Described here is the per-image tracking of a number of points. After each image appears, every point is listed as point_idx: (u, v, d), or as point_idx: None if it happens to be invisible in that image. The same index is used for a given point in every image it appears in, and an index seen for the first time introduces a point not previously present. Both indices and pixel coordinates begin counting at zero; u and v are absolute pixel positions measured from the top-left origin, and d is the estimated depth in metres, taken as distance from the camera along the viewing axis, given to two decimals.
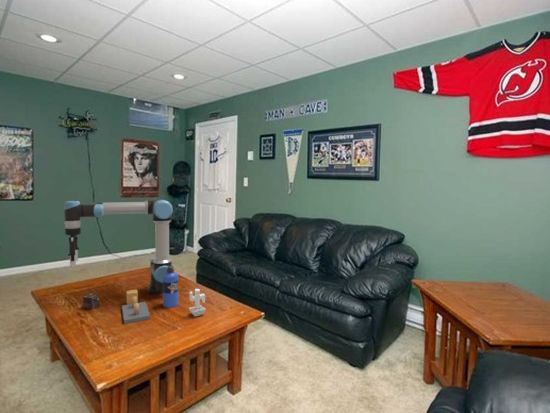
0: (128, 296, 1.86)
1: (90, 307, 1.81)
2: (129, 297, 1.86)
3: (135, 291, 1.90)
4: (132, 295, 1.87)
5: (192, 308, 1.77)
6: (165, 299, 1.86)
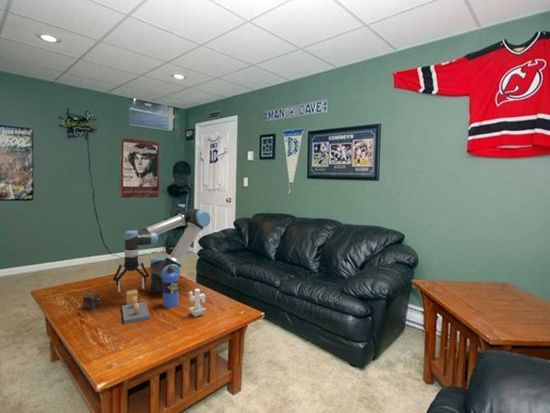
0: (128, 296, 1.86)
1: (90, 307, 1.81)
2: (129, 297, 1.86)
3: (135, 291, 1.90)
4: (132, 295, 1.87)
5: (192, 308, 1.77)
6: (165, 299, 1.86)
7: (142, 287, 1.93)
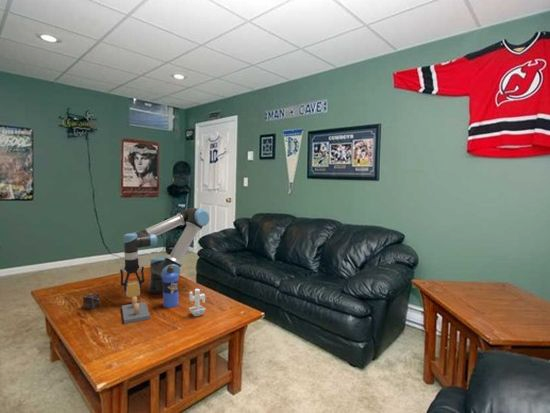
0: (129, 287, 1.86)
1: (90, 307, 1.81)
2: (130, 288, 1.86)
3: (136, 282, 1.90)
4: (133, 286, 1.87)
5: (192, 308, 1.77)
6: (165, 299, 1.86)
7: None
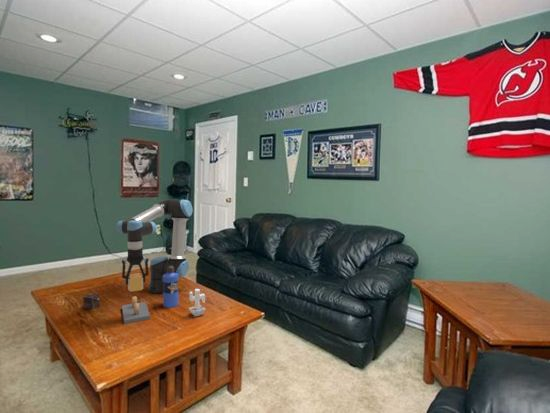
0: (131, 280, 1.66)
1: (90, 307, 1.81)
2: (132, 281, 1.67)
3: (139, 275, 1.70)
4: (135, 279, 1.67)
5: (192, 308, 1.77)
6: (165, 299, 1.86)
7: None
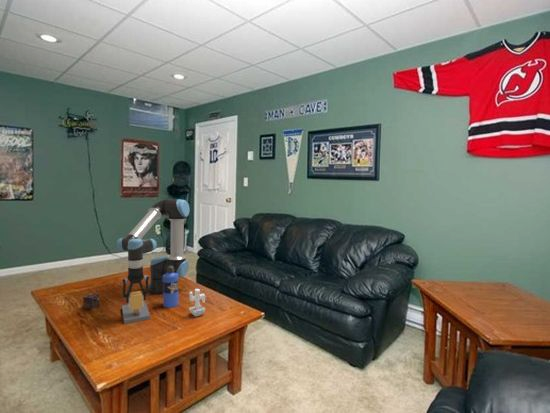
0: (131, 299, 1.67)
1: (90, 307, 1.81)
2: (133, 300, 1.67)
3: (139, 293, 1.71)
4: (136, 297, 1.68)
5: (192, 308, 1.77)
6: (165, 299, 1.86)
7: None
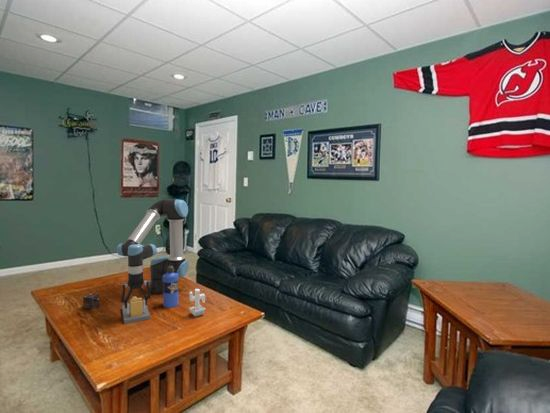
0: (132, 305, 1.68)
1: (90, 307, 1.81)
2: (133, 306, 1.68)
3: (139, 300, 1.71)
4: (136, 304, 1.69)
5: (192, 308, 1.77)
6: (165, 299, 1.86)
7: None
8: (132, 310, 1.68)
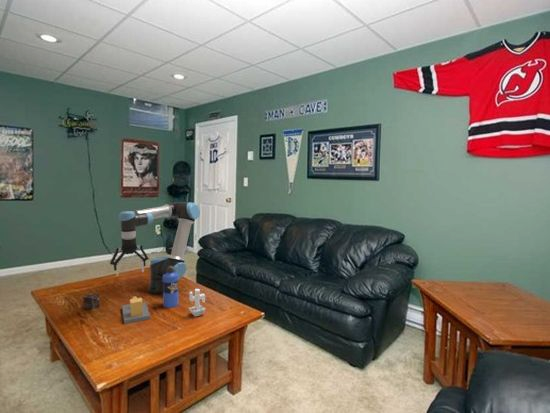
0: (132, 305, 1.68)
1: (90, 307, 1.81)
2: (133, 306, 1.68)
3: (139, 300, 1.71)
4: (136, 304, 1.69)
5: (192, 308, 1.77)
6: (165, 299, 1.86)
7: (142, 271, 1.82)
8: (132, 310, 1.68)
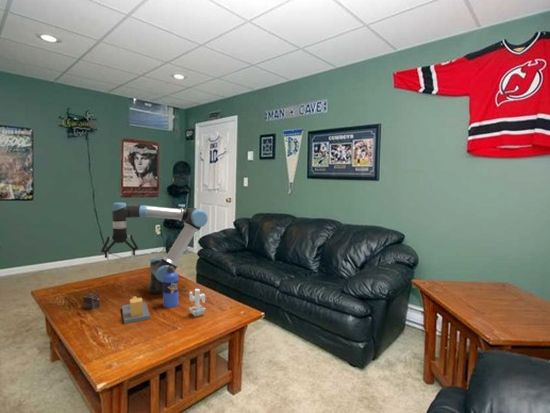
0: (132, 305, 1.68)
1: (90, 307, 1.81)
2: (133, 306, 1.68)
3: (139, 300, 1.71)
4: (136, 304, 1.69)
5: (192, 308, 1.77)
6: (165, 299, 1.86)
7: None
8: (132, 310, 1.68)
